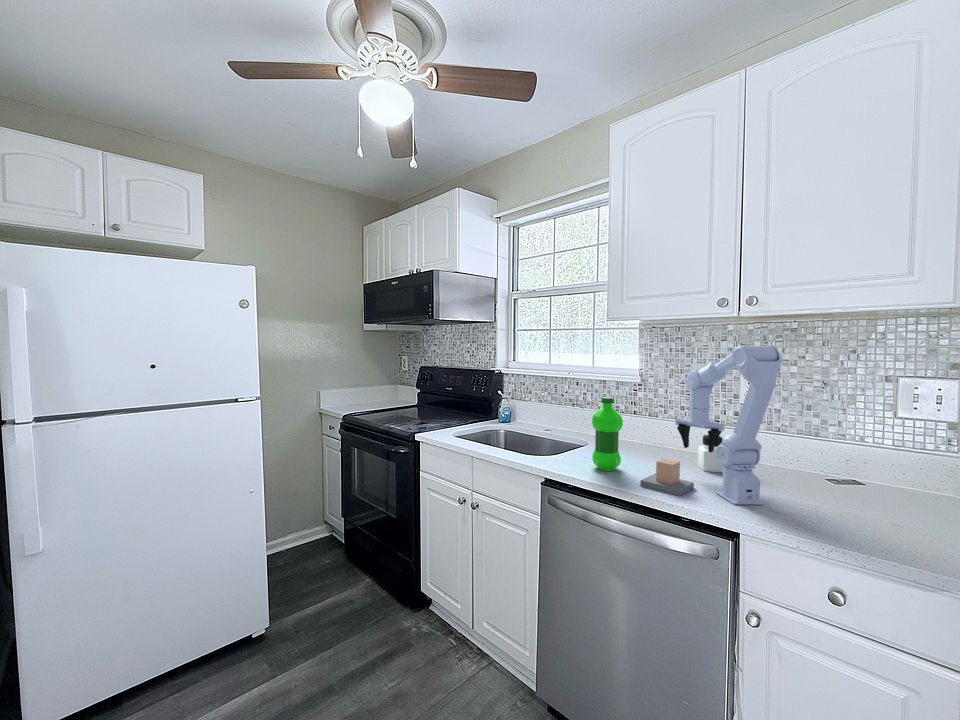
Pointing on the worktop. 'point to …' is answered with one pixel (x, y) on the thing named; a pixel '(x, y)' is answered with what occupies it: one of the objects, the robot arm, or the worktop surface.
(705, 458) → the medicine bottle
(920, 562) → the worktop surface
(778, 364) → the robot arm
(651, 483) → the charcoal base
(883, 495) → the worktop surface
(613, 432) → the plastic bottle
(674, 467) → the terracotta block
